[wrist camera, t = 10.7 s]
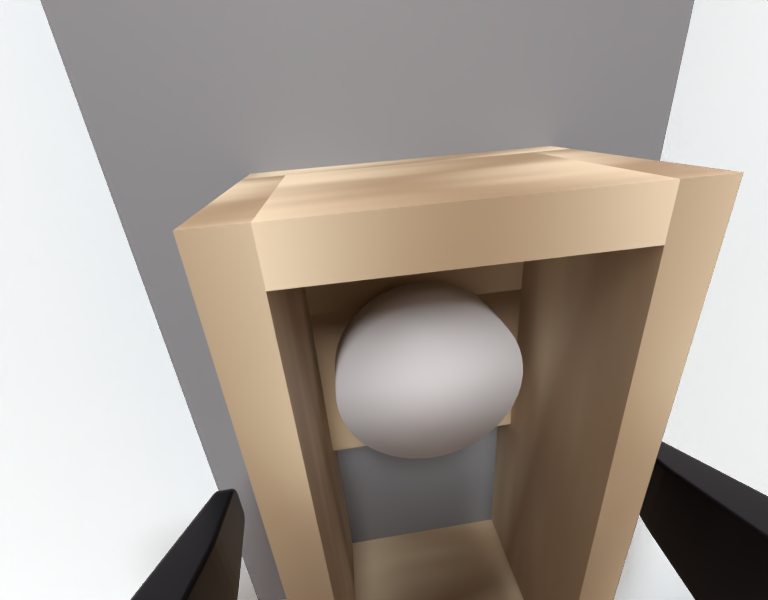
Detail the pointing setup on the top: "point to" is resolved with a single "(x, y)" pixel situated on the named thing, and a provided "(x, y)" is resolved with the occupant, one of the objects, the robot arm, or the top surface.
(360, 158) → the grey plate with ball
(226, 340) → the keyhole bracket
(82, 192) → the top surface
